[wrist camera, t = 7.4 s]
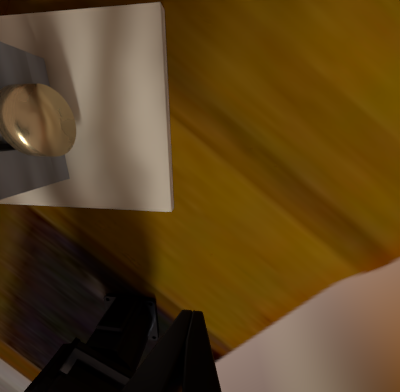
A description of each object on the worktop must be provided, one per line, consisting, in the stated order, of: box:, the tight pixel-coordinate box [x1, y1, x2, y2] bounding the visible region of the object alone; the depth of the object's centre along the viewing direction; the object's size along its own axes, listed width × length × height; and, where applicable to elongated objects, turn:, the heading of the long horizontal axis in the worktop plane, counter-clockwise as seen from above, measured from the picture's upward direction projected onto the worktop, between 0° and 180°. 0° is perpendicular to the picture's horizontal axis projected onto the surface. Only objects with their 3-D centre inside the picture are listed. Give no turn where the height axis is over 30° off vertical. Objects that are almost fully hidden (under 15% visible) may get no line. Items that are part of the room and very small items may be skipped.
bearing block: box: [0, 2, 174, 212], centre depth 15 cm, size 22×16×7 cm
